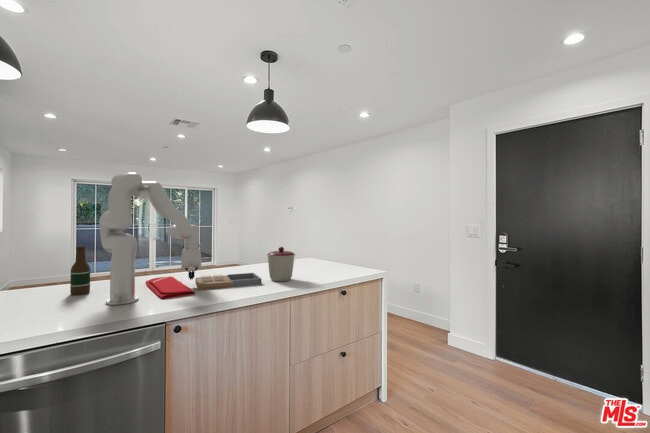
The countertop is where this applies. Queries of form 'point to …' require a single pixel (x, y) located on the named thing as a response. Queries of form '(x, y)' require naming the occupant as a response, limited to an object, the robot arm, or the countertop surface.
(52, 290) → the countertop surface
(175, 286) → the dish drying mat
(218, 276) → the tile
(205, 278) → the tile
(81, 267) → the beer bottle
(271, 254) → the canister
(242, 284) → the tray
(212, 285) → the walnut board
